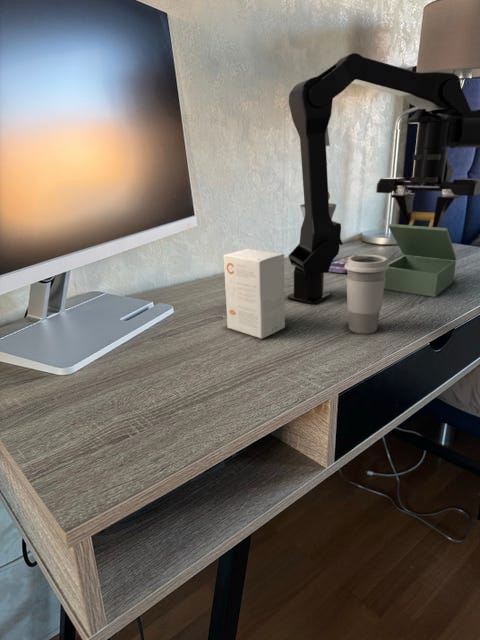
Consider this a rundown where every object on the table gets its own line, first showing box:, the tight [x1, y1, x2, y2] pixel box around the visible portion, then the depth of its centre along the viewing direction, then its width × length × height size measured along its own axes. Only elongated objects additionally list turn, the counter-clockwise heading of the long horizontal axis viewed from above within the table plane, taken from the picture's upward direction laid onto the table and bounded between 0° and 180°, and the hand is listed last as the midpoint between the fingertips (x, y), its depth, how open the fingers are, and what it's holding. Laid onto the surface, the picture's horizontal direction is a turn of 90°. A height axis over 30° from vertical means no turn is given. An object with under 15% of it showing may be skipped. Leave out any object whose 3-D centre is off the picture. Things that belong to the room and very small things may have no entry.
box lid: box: [388, 211, 457, 262], centre depth 94 cm, size 13×11×5 cm
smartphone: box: [328, 255, 351, 274], centre depth 113 cm, size 1×7×15 cm
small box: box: [223, 248, 286, 339], centre depth 74 cm, size 8×6×13 cm
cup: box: [345, 253, 389, 335], centre depth 73 cm, size 7×7×12 cm
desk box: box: [384, 254, 457, 298], centre depth 95 cm, size 12×11×5 cm
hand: (421, 230), depth 91 cm, fingers closed on box lid, 5 cm apart
